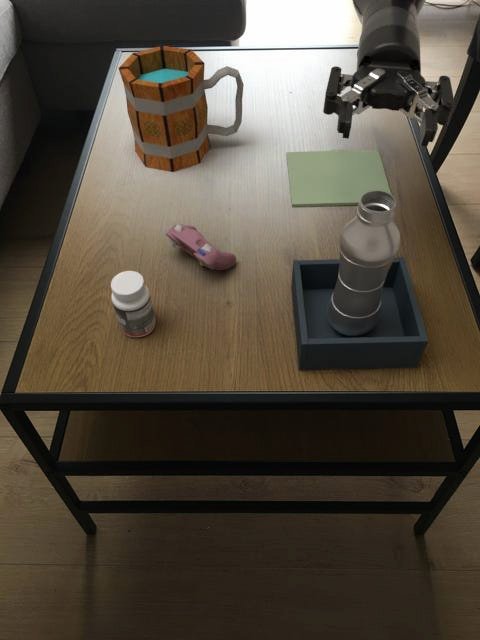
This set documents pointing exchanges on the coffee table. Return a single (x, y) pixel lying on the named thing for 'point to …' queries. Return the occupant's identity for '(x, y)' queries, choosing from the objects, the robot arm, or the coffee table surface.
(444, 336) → the coffee table surface
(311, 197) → the mat
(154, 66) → the mug
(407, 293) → the bin
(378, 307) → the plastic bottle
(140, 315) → the pill bottle
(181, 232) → the pink curved plastic piece
